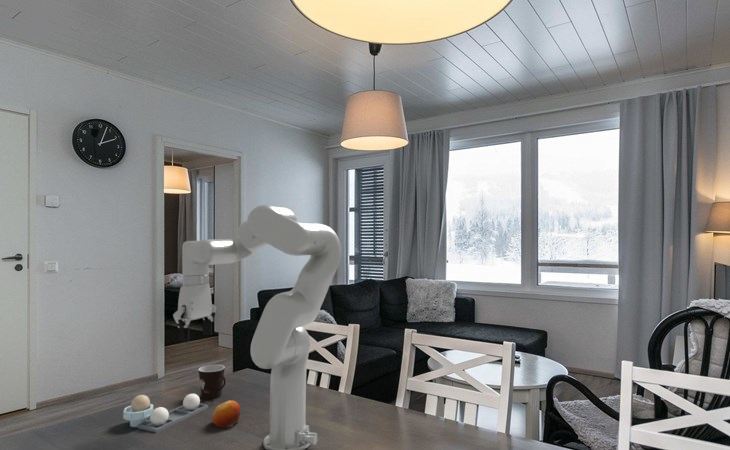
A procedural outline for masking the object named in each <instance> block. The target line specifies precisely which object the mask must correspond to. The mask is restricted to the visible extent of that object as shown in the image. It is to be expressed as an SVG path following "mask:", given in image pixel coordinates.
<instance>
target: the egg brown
mask: <svg viewBox="0 0 730 450" xmlns="http://www.w3.org/2000/svg"><path fill="white" fill-rule="evenodd" d="M150 404H151V400H150V398H149V396H147V395H146V394H139V395H136V396H135V397H134V398H133V399H132V400H131V404H130V406H131V408H132V410H133V411H134V412H141V411H144V410H147V409H148V408H149V405H150Z"/></svg>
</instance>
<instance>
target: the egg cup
mask: <svg viewBox="0 0 730 450" xmlns="http://www.w3.org/2000/svg"><path fill="white" fill-rule="evenodd" d="M153 410H154V404H152V403H150V405H149V408H148V409H147V410H144V411H141V412H134V411H133V410H132V408H131V405H128V406H126V407H124V409H123V411H122V412H123V419H124V420H125V421H129V427H131V428H138V425H139V424H141V423H144V422H146V421H148V419H149V418H150V415H151V413H152V411H153Z"/></svg>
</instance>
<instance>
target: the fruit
mask: <svg viewBox="0 0 730 450" xmlns="http://www.w3.org/2000/svg"><path fill="white" fill-rule="evenodd" d="M240 417H241V406H240V404H239V403H238V402H237V401H235V400H226V401H224V402H223V403H222V402H221V403H220V404H219V405H217V406H216V407H215V408H214V411H213V413H212V418H211V419H212V420H211V421H212V423H213V424H214V425H215V426H216V427H217V428H222V429H225V428H232V427H233V426H234V425H235V424H237V423H239V421H240Z"/></svg>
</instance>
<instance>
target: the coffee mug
mask: <svg viewBox="0 0 730 450" xmlns="http://www.w3.org/2000/svg"><path fill="white" fill-rule="evenodd" d="M225 370H226V367H225V366H224V365H222V364H209V365H203V366H201V367H199V368H198V378H199V387H200V396H201V397H200V398H201V399H203V400H216V399H218V398H220V397H222V393H223V392H222V391H223V389H224V387H225V385H226V378H225Z"/></svg>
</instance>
